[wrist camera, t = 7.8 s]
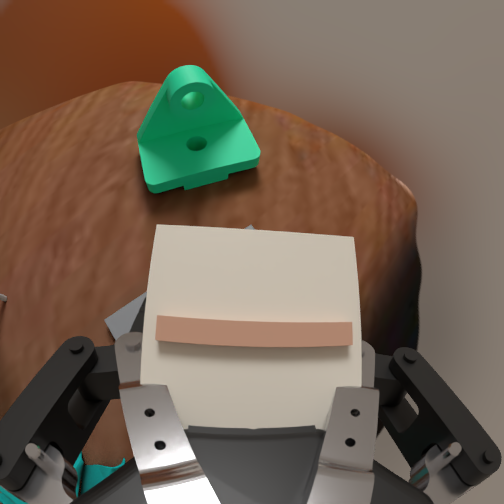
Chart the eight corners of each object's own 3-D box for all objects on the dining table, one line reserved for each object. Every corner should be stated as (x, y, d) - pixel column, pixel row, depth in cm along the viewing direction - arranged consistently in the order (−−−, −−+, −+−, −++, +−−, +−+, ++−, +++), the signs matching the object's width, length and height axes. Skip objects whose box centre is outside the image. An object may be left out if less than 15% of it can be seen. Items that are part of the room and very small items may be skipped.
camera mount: (151, 201, 28) (127, 132, 18) (141, 149, 30) (122, 81, 21) (260, 172, 30) (276, 100, 21) (237, 125, 33) (245, 57, 23)
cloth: (15, 527, 10) (7, 531, 8) (-30, 440, 14) (-40, 441, 12) (178, 536, 16) (176, 547, 14) (116, 430, 20) (108, 435, 18)
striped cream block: (187, 391, 15) (136, 436, 5) (192, 299, 17) (154, 219, 7) (283, 394, 15) (363, 435, 6) (284, 303, 17) (357, 232, 8)
